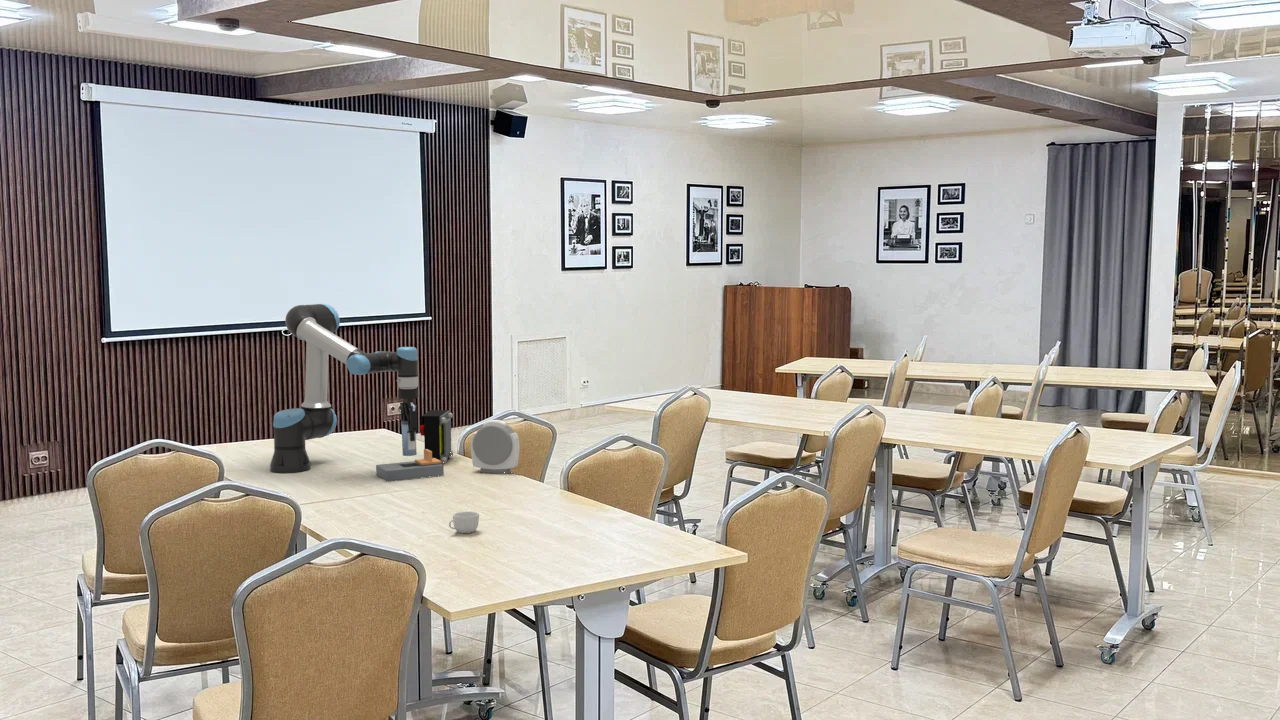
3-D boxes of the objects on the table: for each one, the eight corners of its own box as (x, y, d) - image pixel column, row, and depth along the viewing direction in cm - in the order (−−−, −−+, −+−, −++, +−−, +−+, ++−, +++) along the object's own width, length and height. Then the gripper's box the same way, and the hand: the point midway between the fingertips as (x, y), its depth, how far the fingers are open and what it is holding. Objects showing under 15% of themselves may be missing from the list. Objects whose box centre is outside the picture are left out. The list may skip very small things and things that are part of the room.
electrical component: (445, 465, 421) (444, 416, 419) (420, 465, 421) (419, 416, 419) (454, 457, 438) (453, 410, 437) (429, 457, 439) (429, 410, 437)
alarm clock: (520, 470, 410) (520, 419, 408) (514, 474, 402) (514, 422, 400) (477, 469, 413) (476, 418, 411) (469, 473, 405) (469, 421, 403)
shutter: (414, 461, 405) (414, 449, 405) (434, 459, 409) (434, 447, 409) (421, 465, 398) (421, 452, 398) (441, 463, 402) (441, 450, 402)
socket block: (376, 475, 401) (375, 464, 401) (431, 469, 412) (431, 459, 412) (386, 481, 389) (386, 470, 389) (443, 475, 400) (443, 465, 400)
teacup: (469, 527, 321) (469, 510, 320) (484, 531, 315) (484, 514, 315) (441, 533, 314) (441, 515, 313) (456, 537, 308) (456, 519, 308)
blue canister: (401, 454, 401) (399, 420, 399) (414, 452, 403) (413, 419, 402) (404, 456, 396) (403, 422, 395) (418, 455, 399) (416, 421, 397)
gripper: (391, 386, 403) (392, 445, 405) (405, 390, 388) (407, 452, 390) (410, 384, 407) (411, 444, 409) (425, 389, 391) (426, 450, 393)
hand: (409, 448), depth 399 cm, fingers closed on blue canister, 5 cm apart
